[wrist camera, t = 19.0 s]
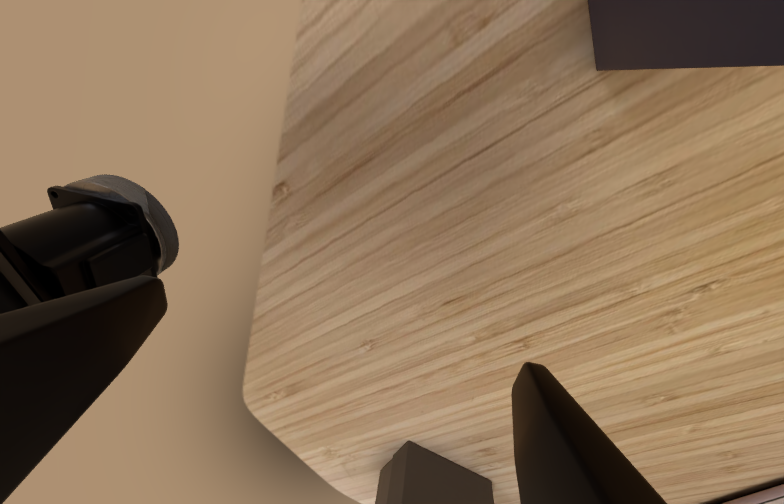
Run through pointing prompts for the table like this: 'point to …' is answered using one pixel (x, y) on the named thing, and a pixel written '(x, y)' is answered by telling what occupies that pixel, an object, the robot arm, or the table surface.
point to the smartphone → (762, 497)
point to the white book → (686, 33)
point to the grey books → (429, 480)
